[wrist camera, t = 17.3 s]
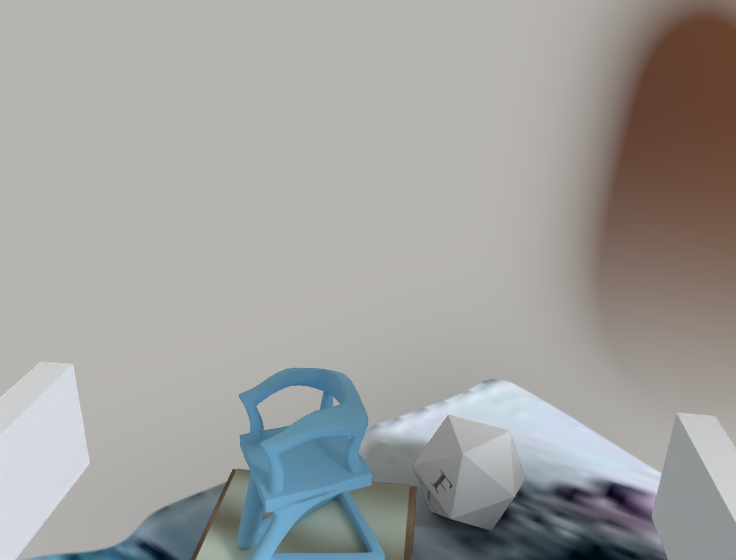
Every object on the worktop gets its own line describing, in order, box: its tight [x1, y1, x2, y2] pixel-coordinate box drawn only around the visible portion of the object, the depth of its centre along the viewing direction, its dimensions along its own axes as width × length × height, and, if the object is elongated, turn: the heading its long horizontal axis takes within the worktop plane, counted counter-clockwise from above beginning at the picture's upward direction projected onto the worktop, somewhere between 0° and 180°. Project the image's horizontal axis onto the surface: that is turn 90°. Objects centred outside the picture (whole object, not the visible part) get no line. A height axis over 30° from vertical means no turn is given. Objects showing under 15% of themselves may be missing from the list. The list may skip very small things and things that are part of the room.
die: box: [412, 415, 525, 531], centre depth 54 cm, size 8×9×10 cm
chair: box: [237, 368, 385, 560], centre depth 41 cm, size 8×8×12 cm
